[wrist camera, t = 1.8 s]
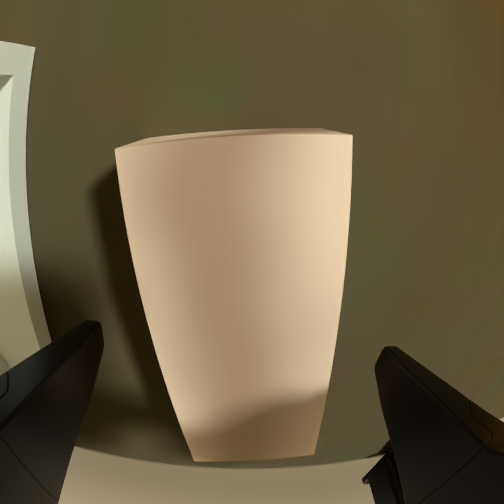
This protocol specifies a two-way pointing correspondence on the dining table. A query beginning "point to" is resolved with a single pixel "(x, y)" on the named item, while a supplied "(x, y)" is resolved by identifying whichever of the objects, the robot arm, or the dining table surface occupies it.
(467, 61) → the dining table surface
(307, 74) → the dining table surface
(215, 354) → the beige tapered block
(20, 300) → the pale green pegged panel
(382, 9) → the dining table surface
